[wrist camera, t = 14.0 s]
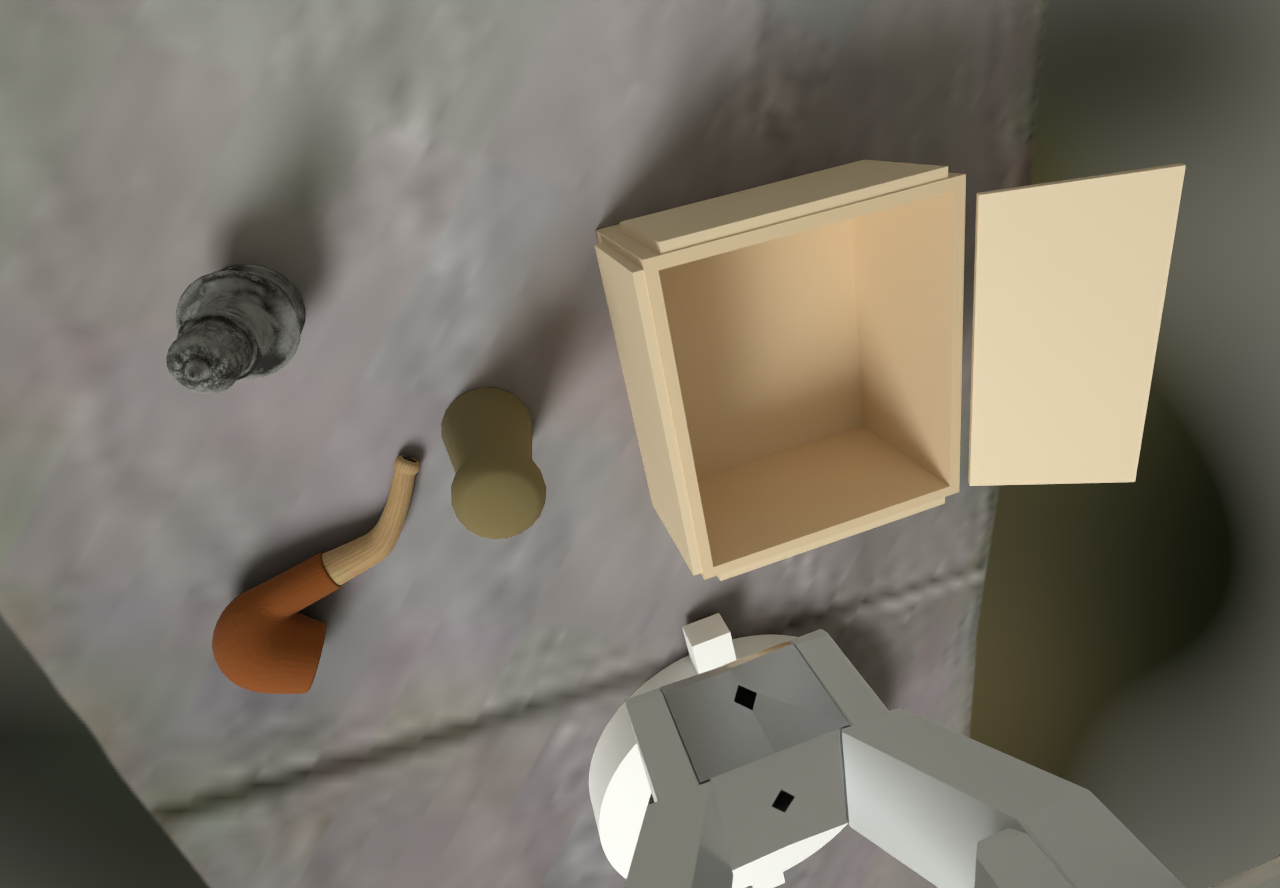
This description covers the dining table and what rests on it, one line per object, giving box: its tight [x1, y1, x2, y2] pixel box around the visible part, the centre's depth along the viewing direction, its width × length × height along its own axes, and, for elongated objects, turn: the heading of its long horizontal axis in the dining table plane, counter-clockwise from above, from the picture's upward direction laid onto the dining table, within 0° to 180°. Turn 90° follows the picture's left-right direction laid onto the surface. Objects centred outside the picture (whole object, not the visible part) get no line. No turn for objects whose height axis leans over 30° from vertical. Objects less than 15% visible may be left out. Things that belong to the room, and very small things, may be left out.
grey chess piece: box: [166, 264, 305, 394], centre depth 35 cm, size 6×6×12 cm
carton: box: [594, 160, 966, 581], centre depth 44 cm, size 19×21×11 cm
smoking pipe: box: [212, 455, 420, 694], centre depth 45 cm, size 7×18×6 cm, turn 143°
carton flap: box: [968, 163, 1186, 486], centre depth 39 cm, size 1×18×9 cm
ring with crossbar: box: [589, 613, 848, 888], centre depth 65 cm, size 28×28×5 cm
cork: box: [441, 388, 546, 539], centre depth 42 cm, size 6×6×11 cm
